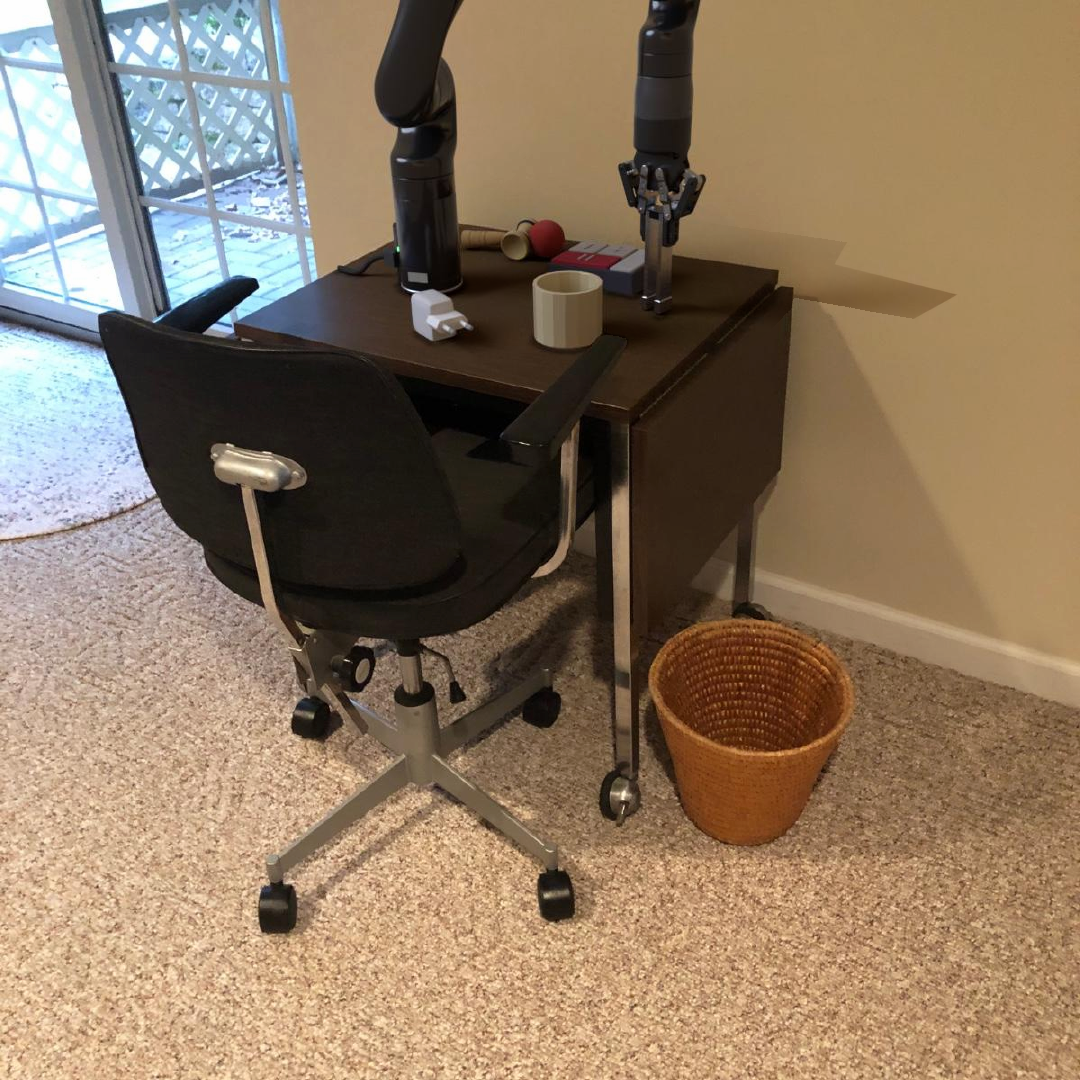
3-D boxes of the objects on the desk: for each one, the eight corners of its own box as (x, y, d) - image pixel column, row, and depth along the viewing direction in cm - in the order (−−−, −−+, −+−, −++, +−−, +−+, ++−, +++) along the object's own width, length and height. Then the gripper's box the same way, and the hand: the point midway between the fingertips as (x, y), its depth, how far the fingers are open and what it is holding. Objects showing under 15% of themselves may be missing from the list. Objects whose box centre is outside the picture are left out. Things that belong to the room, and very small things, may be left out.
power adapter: (480, 350, 144) (478, 308, 140) (449, 359, 141) (446, 317, 138) (439, 325, 151) (436, 285, 148) (409, 333, 149) (405, 293, 146)
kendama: (455, 264, 177) (555, 260, 170) (451, 224, 175) (551, 219, 168) (476, 258, 184) (573, 254, 176) (472, 220, 182) (570, 214, 174)
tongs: (640, 308, 153) (643, 208, 145) (653, 303, 154) (657, 203, 147) (659, 314, 151) (663, 213, 143) (672, 309, 152) (676, 208, 145)
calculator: (581, 238, 171) (666, 247, 164) (583, 265, 173) (666, 275, 166) (545, 258, 163) (632, 268, 156) (547, 286, 165) (633, 297, 158)
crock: (520, 340, 146) (518, 283, 142) (567, 320, 152) (567, 265, 147) (569, 358, 141) (568, 299, 136) (616, 337, 146) (617, 280, 142)
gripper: (725, 113, 136) (716, 247, 145) (640, 99, 144) (637, 227, 154) (687, 123, 132) (681, 261, 141) (603, 108, 140) (602, 239, 150)
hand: (658, 242), depth 147 cm, fingers closed on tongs, 3 cm apart
